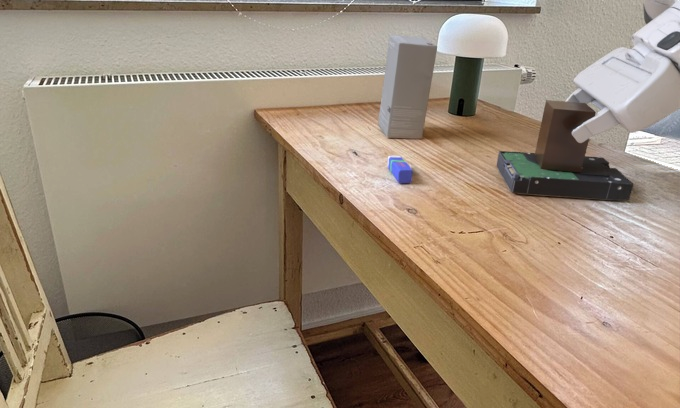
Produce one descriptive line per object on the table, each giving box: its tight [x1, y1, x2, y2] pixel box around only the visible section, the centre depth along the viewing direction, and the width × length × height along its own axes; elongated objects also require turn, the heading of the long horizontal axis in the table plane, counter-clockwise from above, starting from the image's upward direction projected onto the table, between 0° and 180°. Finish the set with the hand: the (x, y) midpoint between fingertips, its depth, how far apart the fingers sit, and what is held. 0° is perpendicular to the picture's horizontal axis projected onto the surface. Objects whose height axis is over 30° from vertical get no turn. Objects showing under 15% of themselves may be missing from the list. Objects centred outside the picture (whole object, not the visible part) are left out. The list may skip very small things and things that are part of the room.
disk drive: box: [496, 150, 635, 202], centre depth 69 cm, size 10×3×15 cm
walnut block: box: [534, 99, 597, 173], centre depth 67 cm, size 5×5×8 cm
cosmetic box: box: [377, 34, 438, 140], centre depth 86 cm, size 8×7×16 cm
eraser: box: [386, 155, 414, 184], centre depth 69 cm, size 2×6×2 cm, turn 8°
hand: (564, 127), depth 66 cm, fingers open, 8 cm apart
